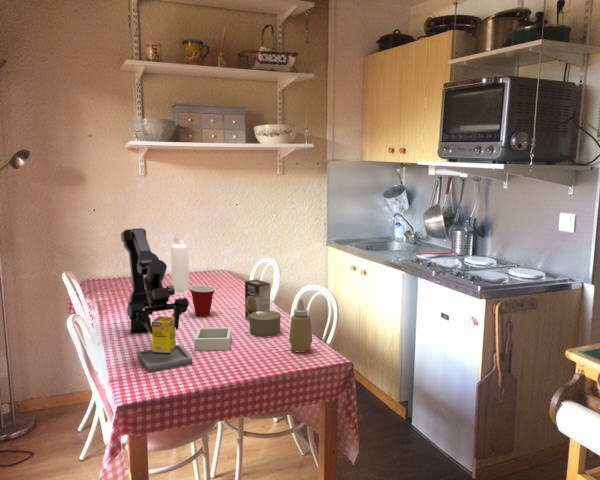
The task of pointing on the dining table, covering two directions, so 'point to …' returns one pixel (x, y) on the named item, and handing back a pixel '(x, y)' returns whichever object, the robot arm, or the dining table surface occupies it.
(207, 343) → the white square frame
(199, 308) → the plastic cup
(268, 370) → the dining table surface
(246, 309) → the coffee box
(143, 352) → the tray
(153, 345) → the supplement box
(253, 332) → the can
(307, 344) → the squeeze bottle
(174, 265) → the bottle
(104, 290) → the dining table surface
